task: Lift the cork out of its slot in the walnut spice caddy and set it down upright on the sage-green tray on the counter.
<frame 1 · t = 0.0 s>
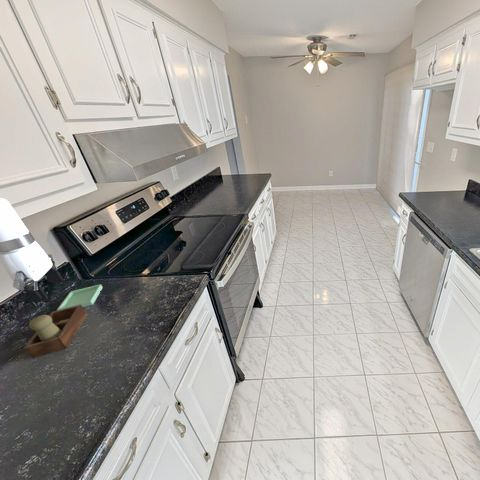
hand: (49, 290, 78), 21 cm above the worktop, tool pointing down, fingers open, 9 cm apart
caddy: (62, 333, 91), on the worktop
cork: (56, 342, 87), resting on caddy
tray: (82, 299, 108), on the worktop
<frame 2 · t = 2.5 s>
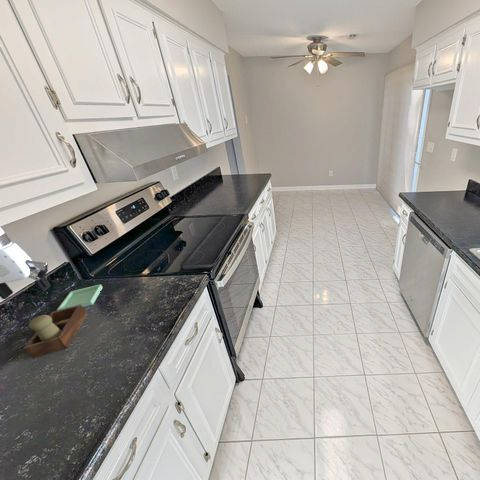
hand: (27, 292, 77), 22 cm above the worktop, tool pointing down, fingers open, 9 cm apart
nothing on the worktop moved.
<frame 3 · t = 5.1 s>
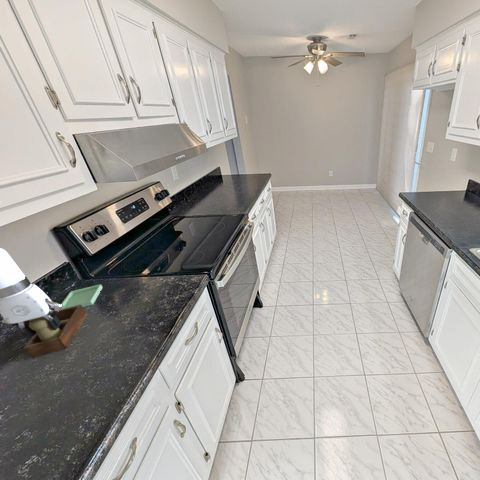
hand: (46, 329, 84), 6 cm above the worktop, tool pointing down, fingers closed on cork, 5 cm apart
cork: (56, 342, 87), resting on caddy, touching gripper
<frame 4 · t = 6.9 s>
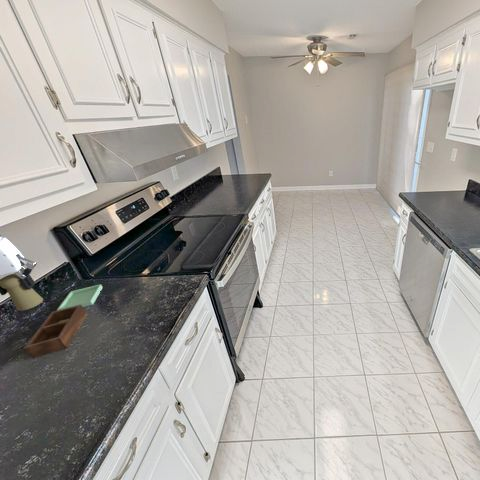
hand: (18, 289, 79), 22 cm above the worktop, tool pointing down, fingers closed on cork, 5 cm apart
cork: (30, 304, 82), point 16 cm above the worktop, touching gripper
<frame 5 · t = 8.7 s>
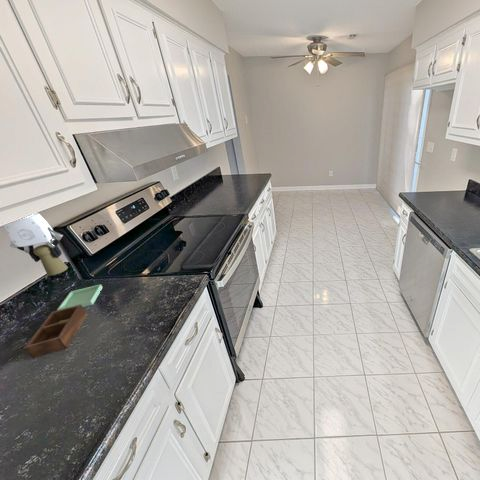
hand: (48, 257, 95), 23 cm above the worktop, tool pointing down, fingers closed on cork, 5 cm apart
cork: (58, 271, 98), point 16 cm above the worktop, touching gripper
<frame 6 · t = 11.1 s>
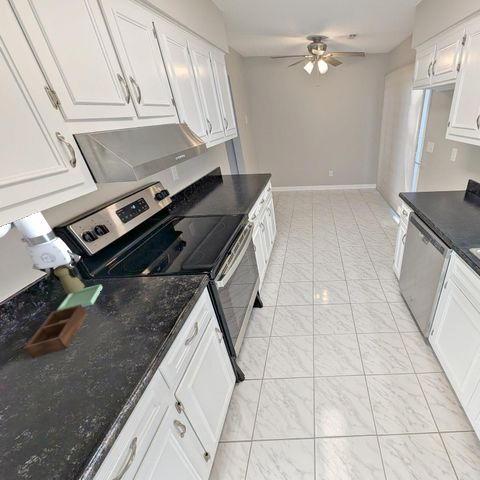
hand: (67, 277, 102), 12 cm above the worktop, tool pointing down, fingers closed on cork, 5 cm apart
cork: (75, 289, 105), point 6 cm above the worktop, touching gripper
when the fingers open (6 cm above the worktop, at t = 12.8 s): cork stays where it is, resting on tray.
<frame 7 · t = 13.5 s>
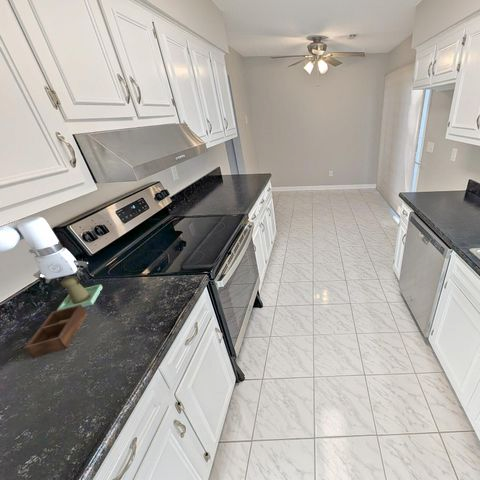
hand: (72, 285, 104), 8 cm above the worktop, tool pointing down, fingers open, 9 cm apart
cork: (82, 299, 107), resting on tray
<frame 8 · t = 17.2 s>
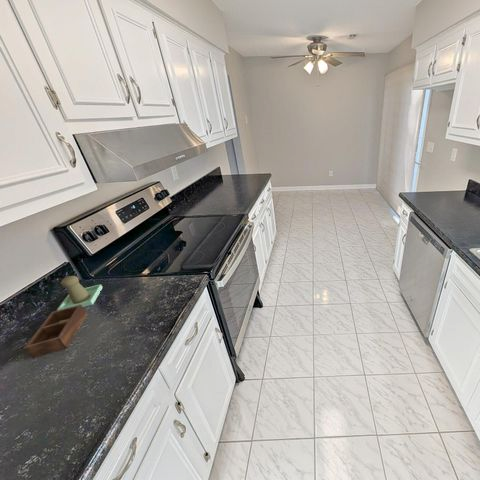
nothing on the worktop moved.
at the end: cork inside the target area in the tray (0.1 cm from its centre), point 0.2 cm above the tray's base; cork tilted 0° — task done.
